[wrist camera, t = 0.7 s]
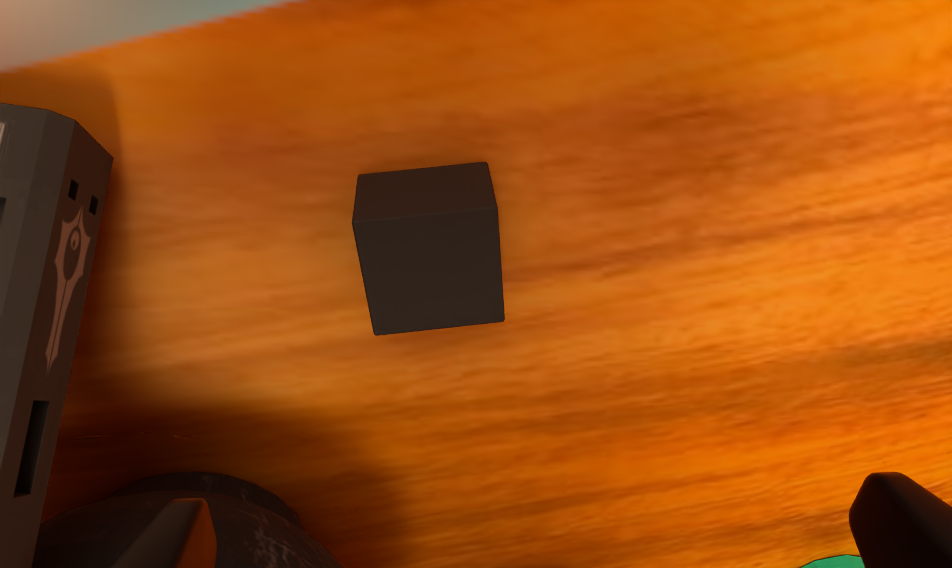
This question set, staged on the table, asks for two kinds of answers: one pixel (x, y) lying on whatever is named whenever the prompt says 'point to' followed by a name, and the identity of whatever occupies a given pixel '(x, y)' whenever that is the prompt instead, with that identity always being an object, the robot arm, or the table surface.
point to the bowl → (134, 507)
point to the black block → (429, 248)
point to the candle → (838, 562)
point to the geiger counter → (40, 299)
